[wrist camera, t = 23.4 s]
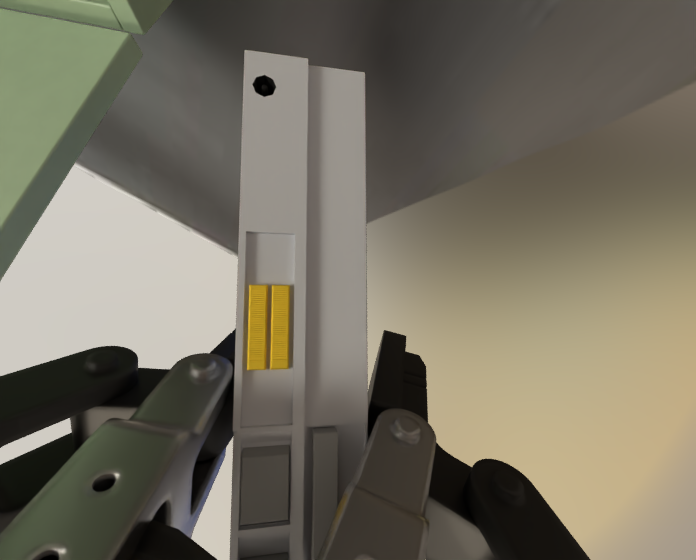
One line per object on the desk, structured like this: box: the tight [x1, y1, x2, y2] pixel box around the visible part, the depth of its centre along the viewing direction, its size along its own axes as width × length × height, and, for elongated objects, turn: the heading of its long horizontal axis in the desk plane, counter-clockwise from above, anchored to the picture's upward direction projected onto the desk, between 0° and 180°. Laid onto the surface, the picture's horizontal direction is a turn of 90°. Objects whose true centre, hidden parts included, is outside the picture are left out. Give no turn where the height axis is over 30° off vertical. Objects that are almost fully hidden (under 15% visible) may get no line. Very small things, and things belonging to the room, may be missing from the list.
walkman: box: [230, 50, 368, 560], centre depth 11 cm, size 8×3×12 cm, turn 164°
